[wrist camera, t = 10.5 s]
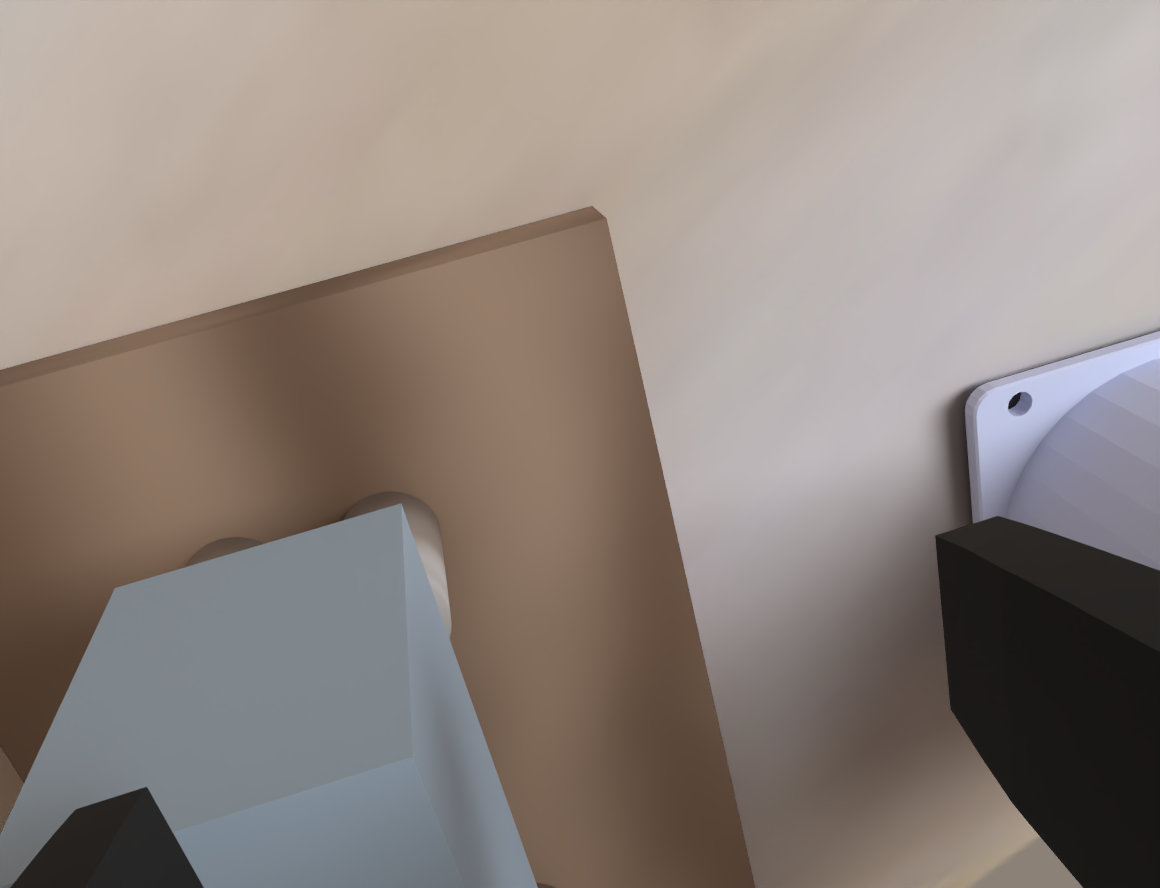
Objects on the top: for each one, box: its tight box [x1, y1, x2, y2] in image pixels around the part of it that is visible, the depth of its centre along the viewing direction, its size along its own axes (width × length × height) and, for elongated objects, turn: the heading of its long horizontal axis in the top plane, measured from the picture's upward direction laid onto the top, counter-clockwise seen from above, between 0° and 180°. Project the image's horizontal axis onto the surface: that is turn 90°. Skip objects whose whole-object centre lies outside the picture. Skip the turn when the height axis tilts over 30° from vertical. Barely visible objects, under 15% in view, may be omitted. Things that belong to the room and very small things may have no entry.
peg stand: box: [0, 206, 755, 888], centre depth 19 cm, size 13×19×4 cm
